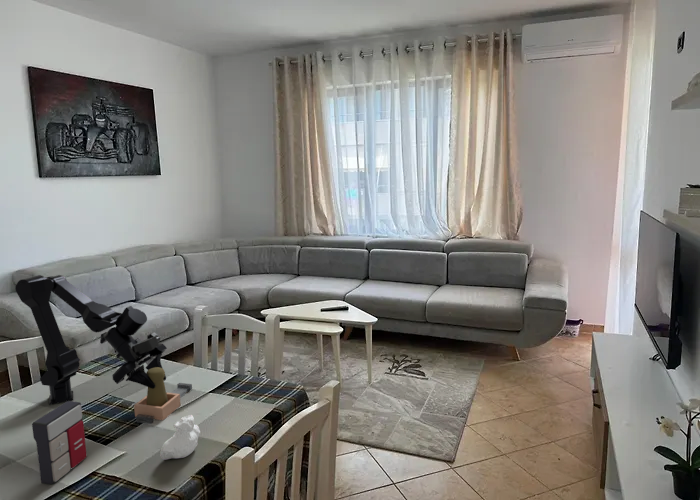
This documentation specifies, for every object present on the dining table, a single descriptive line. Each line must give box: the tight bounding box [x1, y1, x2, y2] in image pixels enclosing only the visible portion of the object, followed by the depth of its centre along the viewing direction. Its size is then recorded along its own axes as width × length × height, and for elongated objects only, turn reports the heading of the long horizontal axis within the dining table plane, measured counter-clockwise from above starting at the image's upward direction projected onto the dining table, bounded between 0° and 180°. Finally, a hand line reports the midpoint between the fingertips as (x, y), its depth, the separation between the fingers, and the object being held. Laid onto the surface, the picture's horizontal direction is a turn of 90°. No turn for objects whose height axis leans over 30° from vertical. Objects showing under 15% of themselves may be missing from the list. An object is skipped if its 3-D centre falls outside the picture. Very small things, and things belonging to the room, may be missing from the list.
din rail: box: [135, 382, 193, 425], centre depth 148 cm, size 4×22×2 cm, turn 167°
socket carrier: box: [133, 391, 181, 421], centre depth 144 cm, size 9×9×4 cm
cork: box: [145, 367, 168, 407], centre depth 143 cm, size 6×6×11 cm
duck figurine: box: [159, 414, 201, 461], centre depth 122 cm, size 12×8×11 cm
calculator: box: [31, 400, 88, 485], centre depth 115 cm, size 11×4×15 cm, turn 168°
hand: (160, 383), depth 143 cm, fingers closed on cork, 5 cm apart
